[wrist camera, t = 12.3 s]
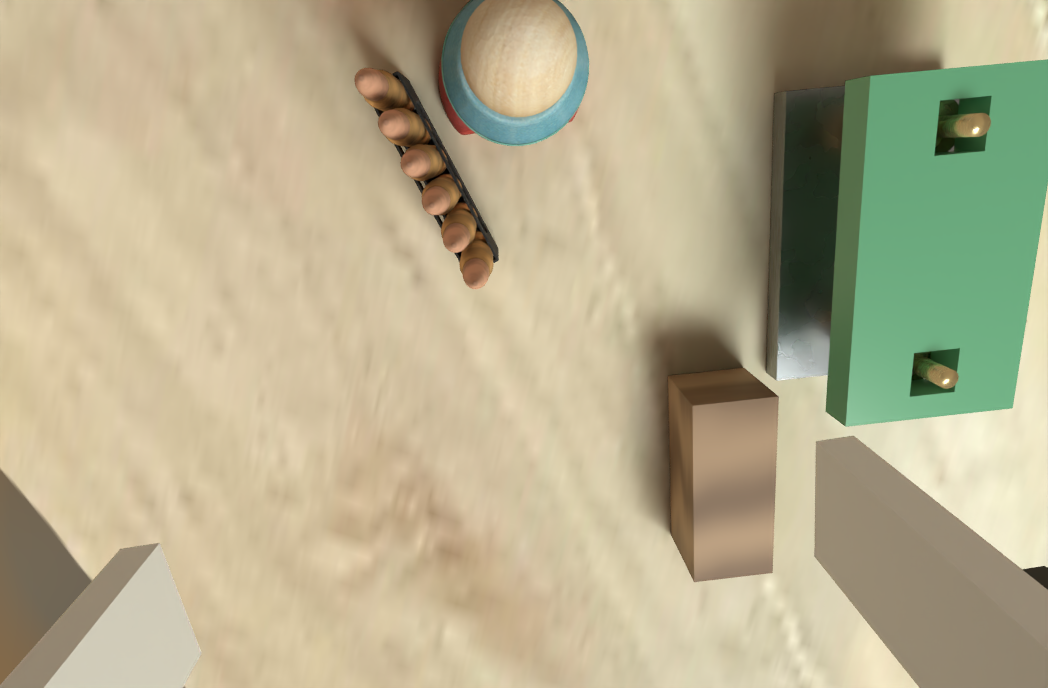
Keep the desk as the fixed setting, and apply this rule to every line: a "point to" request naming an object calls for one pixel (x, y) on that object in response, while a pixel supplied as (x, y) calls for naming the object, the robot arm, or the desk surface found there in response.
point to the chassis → (822, 228)
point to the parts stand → (722, 472)
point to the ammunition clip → (431, 171)
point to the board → (935, 241)
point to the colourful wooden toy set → (513, 70)
